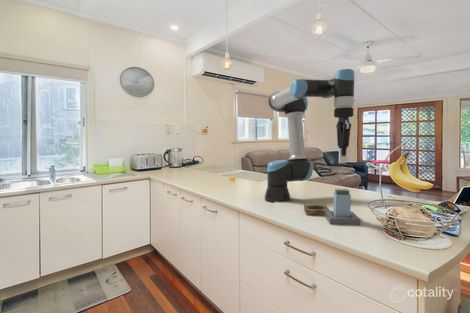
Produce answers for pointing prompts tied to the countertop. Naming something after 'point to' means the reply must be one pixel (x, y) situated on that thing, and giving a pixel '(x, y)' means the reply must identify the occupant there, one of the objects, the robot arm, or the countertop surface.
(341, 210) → the plug
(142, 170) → the countertop surface
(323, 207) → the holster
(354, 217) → the port
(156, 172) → the countertop surface
